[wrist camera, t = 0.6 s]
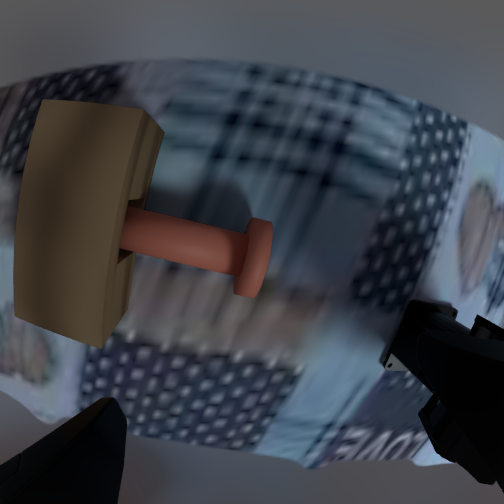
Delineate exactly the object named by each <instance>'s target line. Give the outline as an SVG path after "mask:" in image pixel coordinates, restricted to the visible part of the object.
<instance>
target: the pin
mask: <svg viewBox="0 0 504 504" xmlns="http://www.w3.org/2000/svg"><path fill="white" fill-rule="evenodd" d="M272 240H273V226H272V223H271V222H269V221H265V220H262V219H258V218H254V217H252V218H251V219H250V221H249V223H248V225H247V228H246V231H245V233H239V232H235V231H231V230H227V229H223V228H219V227H215V226H211V225H207V224H202V223H198V222H194V221H190V220H186V219H182V218H177V217H173V216H169V215H165V214H160V213H156V212H152V211H147V210H143V209H139V208H134V207H130V206H127V210H126V215H125V220H124V225H123V231H122V236H121V242H120V248H121V249H125V250H129V251H133V252H137V253H141V254H145V255H149V256H153V257H157V258H161V259H165V260H169V261H173V262H177V263H182V264H186V265H190V266H194V267H198V268H203V269H207V270H211V271H216V272H220V273H224V274H229V275H233V276H234V284H233V291H234V294H236V295H240V296H245V297H250V298H254V297H255V296H256V295H257V293H258V292H259V290H260V287H261V285H262V283H263V280H264V277H265V274H266V270H267V267H268V263H269V258H270V254H271V248H272Z"/></svg>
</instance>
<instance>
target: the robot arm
mask: <svg viewBox="0 0 504 504" xmlns="http://www.w3.org/2000/svg"><path fill="white" fill-rule="evenodd" d="M414 305H415V306H414ZM413 306H414V307H413ZM457 313H458V311H457V309H455V308H452V307H448V306H443V305H438V304H434V303H429V302H424V301H420V300H415V299H414V300H411V301H410V302H409V304H408V307H407V309H406V312H405V315H404V317H403V320H402V322H401V325H400V327H399V329H398V332H397V334H396V337H395V339H394V341H393V343H392V346H391V348H390V350H389V352H388V355H387V357H386V359H385V361H384V363H383V367H384V368H385V369H386V370H392V371H410V372H411V373H412V374H413V375H414V376H416V377H417V378H418V379H419V380H420V381H421V382H422V383H423V384H424V385H425V386H426V387H427V388H428V389H429V390H430V391H431V392H432V393H433V395H432V396H431V398H430V399H429V401H428V402H427V403H426V405H425V406H424V408H422V409H421V410H420V411H419V413H418V416H419V418H420V420H421V422H422V424H423V426H424V428H425V430H426V433H427V435H428V437H429V439H430V441H431V443H432V445H433V448H434V450H435V452H436V453H437V454H439V455H440V456H441V457H442V458H445V459H447V460H448V461H450V462H453V463H457V464H459V465H460V466H462V467H463V468H464V469H465V470H467V471H468V472H469V473H470V474H471V475H472V476H473V477H474V478H475V479H476V480H477V481H478V482H479V483H483V484H489V485H493V484H495V483H496V482H497V483H498V484H499V486H500V488H501V489H502V491H503V493H504V329H503V328H501V327H499V326H497V325H495V324H494V323H492V322H490V321H488V320H487V319H485V318H483V317H481V316H479V315H478V314H477V316H476V318H475V320H474V321H475V323H474V325H473V327H472V329H471V330H470V329H469V328H467V327H465V326H464V325H462V324H461V323H459V322H457V321H456V320H455V319H456V316H457ZM388 364H389V365H388ZM126 432H127V420H126V417H125V415H124V413H123V412H122V410H121V408H120V406H119V404H118V402H117V400H116V399H115V398H113V397H106V398H100V399H99V400H97V401H96V402H95V403H93V404H92V405H90V406H89V407H87V408H86V409H85V410H83V411H82V412H80V413H79V414H77V415H76V416H74V417H73V418H71V419H70V420H69V421H67V422H66V423H64V424H63V425H61V426H60V427H58V428H57V429H55V430H54V431H52V432H51V433H49V434H48V435H46V436H45V437H43V438H42V439H40V440H39V441H37V442H36V443H34V444H33V445H31V446H30V447H28V448H27V449H25V450H24V451H22V453H19V454H17V455H16V456H14V457H13V458H11V459H9V460H8V461H6V462H5V463H3V464H2V465H0V504H117V503H118V496H119V491H120V484H121V479H122V473H123V467H124V457H125V444H126Z"/></svg>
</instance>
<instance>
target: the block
mask: <svg viewBox="0 0 504 504" xmlns="http://www.w3.org/2000/svg"><path fill="white" fill-rule="evenodd" d="M163 135H164V131H163V130H162V129H161V128H160V127H159V126H158V125H157V123H156V122H155V121H154V120H153V119H152V118H151V117H150V116H149V115H148V114H147V113H146V111H145V110H144V109H138V108H131V107H124V106H117V105H108V104H100V103H90V102H79V101H66V100H48V99H43V100H42V103H41V106H40V109H39V113H38V116H37V119H36V122H35V126H34V130H33V133H32V137H31V141H30V145H29V149H28V153H27V158H26V162H25V167H24V172H23V178H22V183H21V189H20V196H19V203H18V211H17V220H16V230H15V244H14V270H13V285H14V312H15V316H16V317H18V318H20V319H22V320H25V321H27V322H29V323H32V324H34V325H37V326H39V327H42V328H44V329H47V330H49V331H52V332H54V333H57V334H60V335H62V336H65V337H68V338H71V339H73V340H76V341H79V342H82V343H85V344H88V345H91V346H94V347H97V348H100V349H101V348H102V347H103V345H104V344H105V342H106V341H107V339H108V338H109V336H110V335H111V333H112V332H113V330H114V329H115V327H116V326H117V324H118V323H119V321H120V320H121V318H122V317H123V316H124V314H125V313H126V311H127V310H128V304H129V296H130V288H131V281H132V275H133V268H134V262H135V256H136V252H133V251H129V250H125V249H121V248H120V242H121V236H122V231H123V225H124V220H125V215H126V210H127V206H130V207H134V208H139V209H143V210H145V205H146V201H147V196H148V192H149V188H150V184H151V180H152V175H153V172H154V168H155V164H156V160H157V156H158V153H159V149H160V146H161V142H162V139H163Z"/></svg>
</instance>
